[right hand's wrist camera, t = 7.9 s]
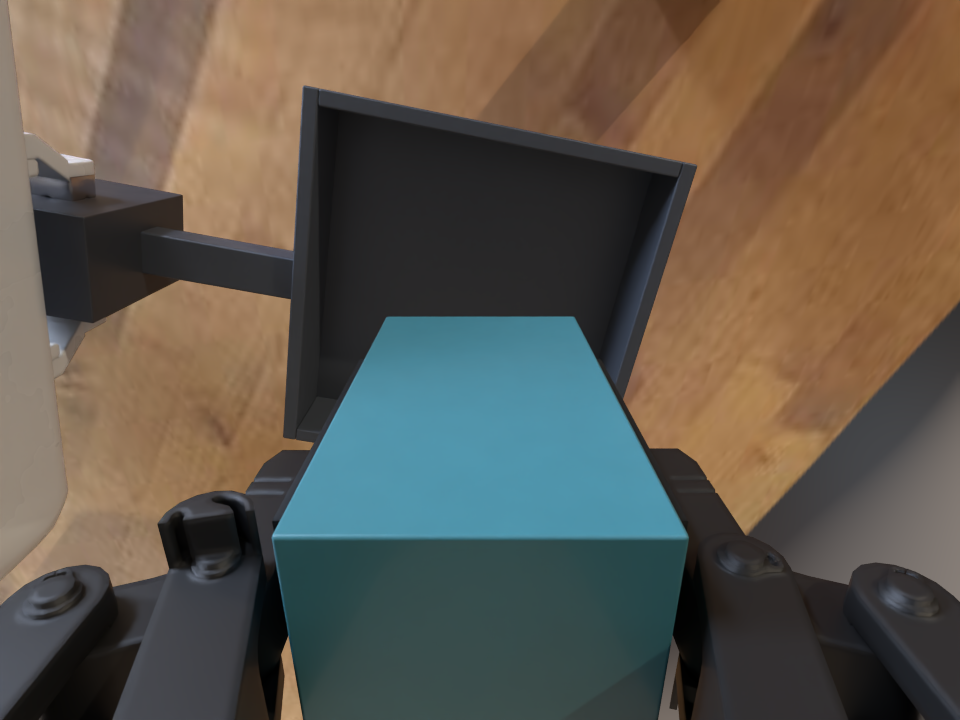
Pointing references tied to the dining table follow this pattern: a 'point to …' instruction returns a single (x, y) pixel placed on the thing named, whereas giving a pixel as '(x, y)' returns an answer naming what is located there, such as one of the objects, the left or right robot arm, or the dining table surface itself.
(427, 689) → the teal block
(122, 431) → the dining table surface
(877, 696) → the right robot arm
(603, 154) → the handled tray
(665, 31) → the dining table surface
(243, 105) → the dining table surface
